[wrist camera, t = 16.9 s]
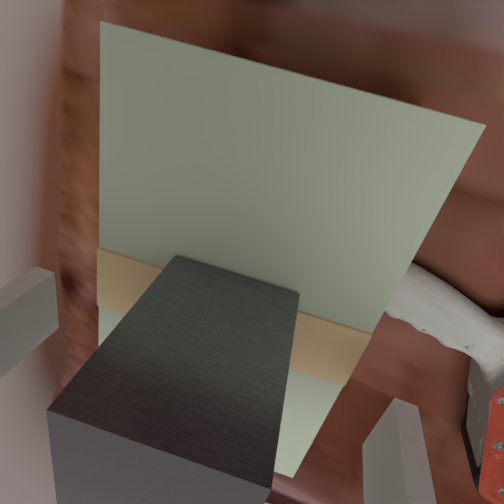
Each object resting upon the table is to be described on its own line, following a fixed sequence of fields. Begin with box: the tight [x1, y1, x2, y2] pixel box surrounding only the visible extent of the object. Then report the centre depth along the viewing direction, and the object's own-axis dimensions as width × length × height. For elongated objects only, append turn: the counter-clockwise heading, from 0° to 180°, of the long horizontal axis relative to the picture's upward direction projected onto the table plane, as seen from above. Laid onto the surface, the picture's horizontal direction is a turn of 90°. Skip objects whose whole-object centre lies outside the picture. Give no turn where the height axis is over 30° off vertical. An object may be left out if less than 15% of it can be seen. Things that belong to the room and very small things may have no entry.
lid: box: [97, 21, 486, 478], centre depth 15 cm, size 19×11×1 cm, turn 167°
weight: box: [47, 255, 300, 504], centre depth 12 cm, size 5×5×7 cm
